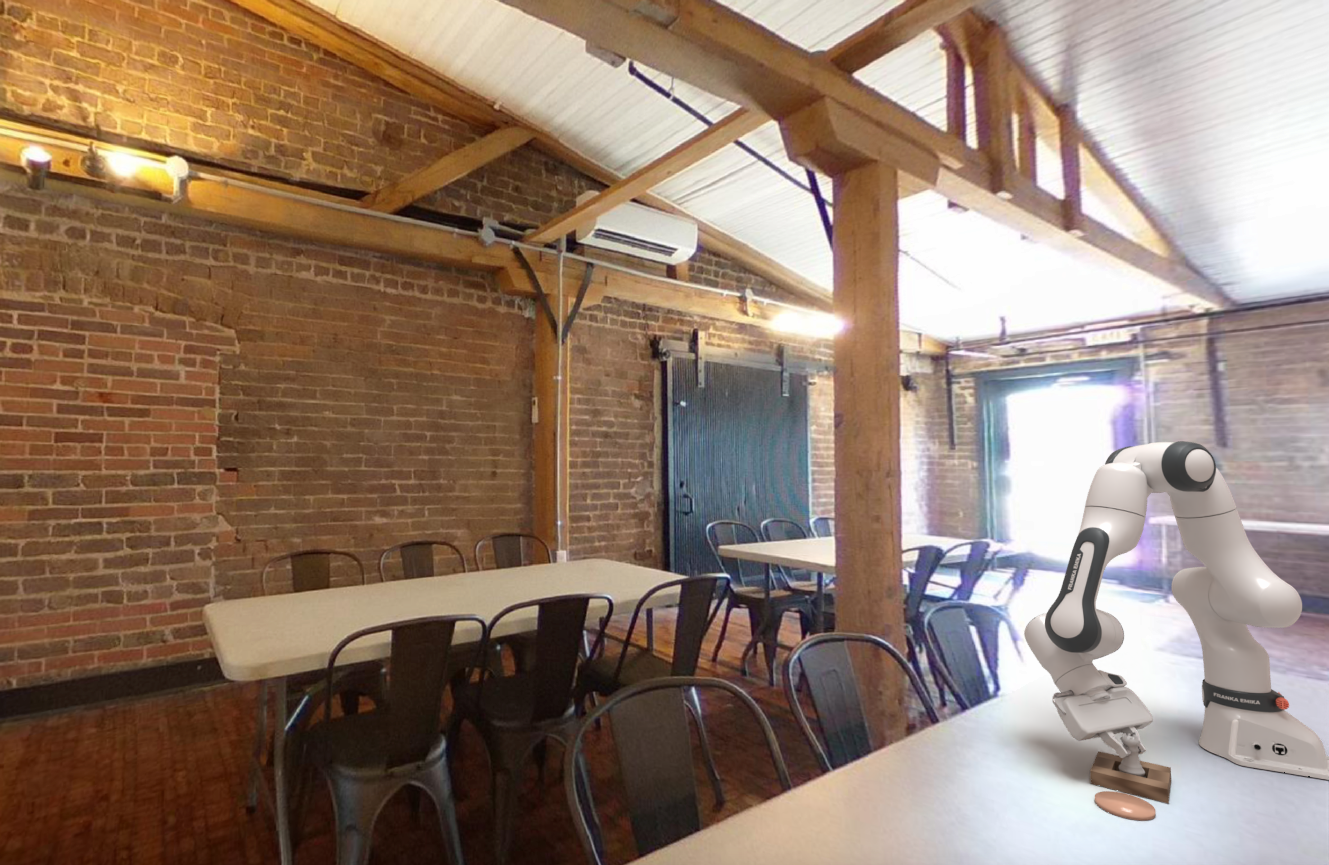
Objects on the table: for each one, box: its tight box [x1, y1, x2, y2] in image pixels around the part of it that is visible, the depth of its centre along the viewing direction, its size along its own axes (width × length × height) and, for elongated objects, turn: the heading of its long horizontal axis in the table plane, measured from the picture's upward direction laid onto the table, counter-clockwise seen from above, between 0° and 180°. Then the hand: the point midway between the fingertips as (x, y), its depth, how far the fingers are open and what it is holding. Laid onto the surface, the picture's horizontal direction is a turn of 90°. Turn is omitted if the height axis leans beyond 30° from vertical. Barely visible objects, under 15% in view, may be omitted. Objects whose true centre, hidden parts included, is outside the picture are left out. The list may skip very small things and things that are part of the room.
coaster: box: [1094, 790, 1157, 822], centre depth 118 cm, size 9×9×1 cm
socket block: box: [1089, 751, 1172, 804], centre depth 128 cm, size 12×12×2 cm
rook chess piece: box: [1118, 733, 1146, 778], centre depth 128 cm, size 4×4×8 cm
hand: (1134, 754), depth 128 cm, fingers closed on rook chess piece, 3 cm apart
